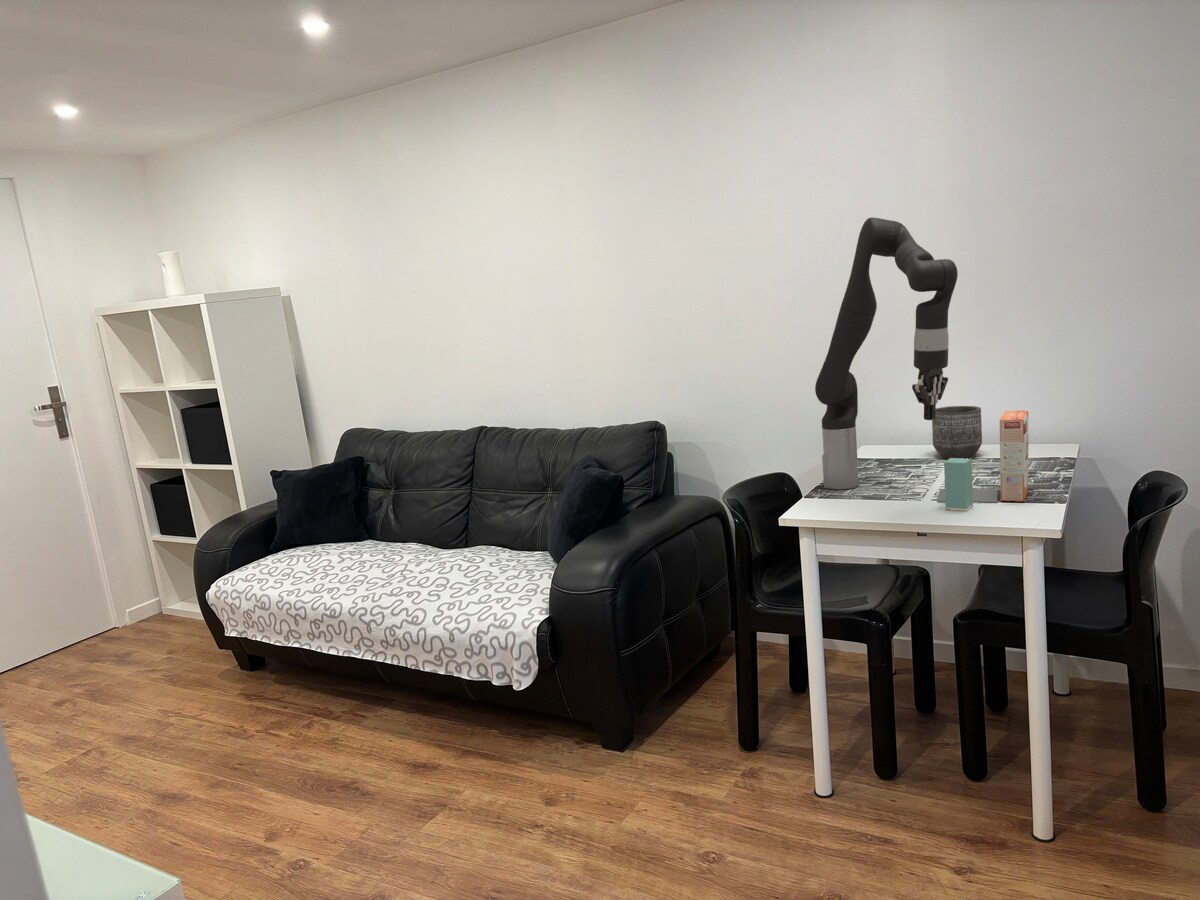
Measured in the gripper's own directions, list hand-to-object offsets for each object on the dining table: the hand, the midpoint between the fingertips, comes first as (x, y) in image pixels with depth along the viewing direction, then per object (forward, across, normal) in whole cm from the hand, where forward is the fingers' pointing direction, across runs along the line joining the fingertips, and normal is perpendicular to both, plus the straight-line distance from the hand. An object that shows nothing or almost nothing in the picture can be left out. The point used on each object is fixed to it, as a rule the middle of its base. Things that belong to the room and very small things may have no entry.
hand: (929, 419), depth 207 cm
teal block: (+24, +8, -4) cm, 25 cm away
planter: (+27, +63, +24) cm, 73 cm away
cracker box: (+24, +25, -10) cm, 36 cm away
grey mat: (+24, +19, -1) cm, 30 cm away
